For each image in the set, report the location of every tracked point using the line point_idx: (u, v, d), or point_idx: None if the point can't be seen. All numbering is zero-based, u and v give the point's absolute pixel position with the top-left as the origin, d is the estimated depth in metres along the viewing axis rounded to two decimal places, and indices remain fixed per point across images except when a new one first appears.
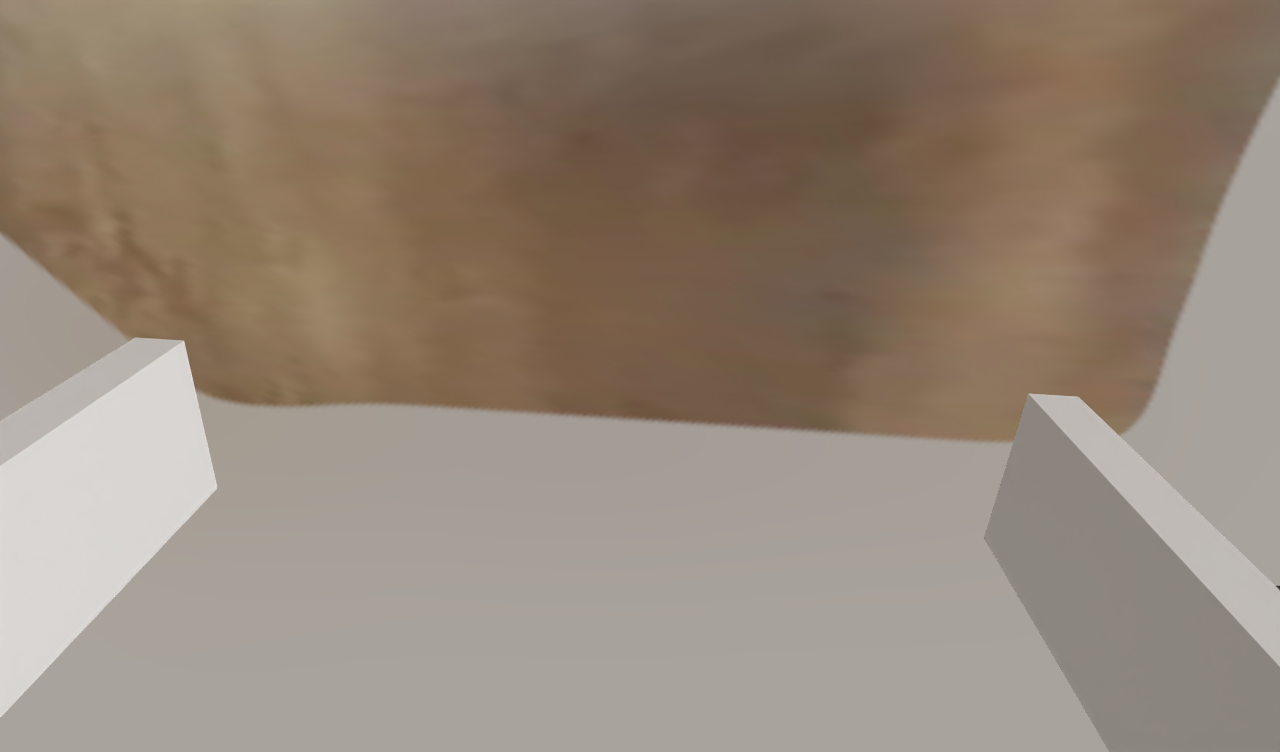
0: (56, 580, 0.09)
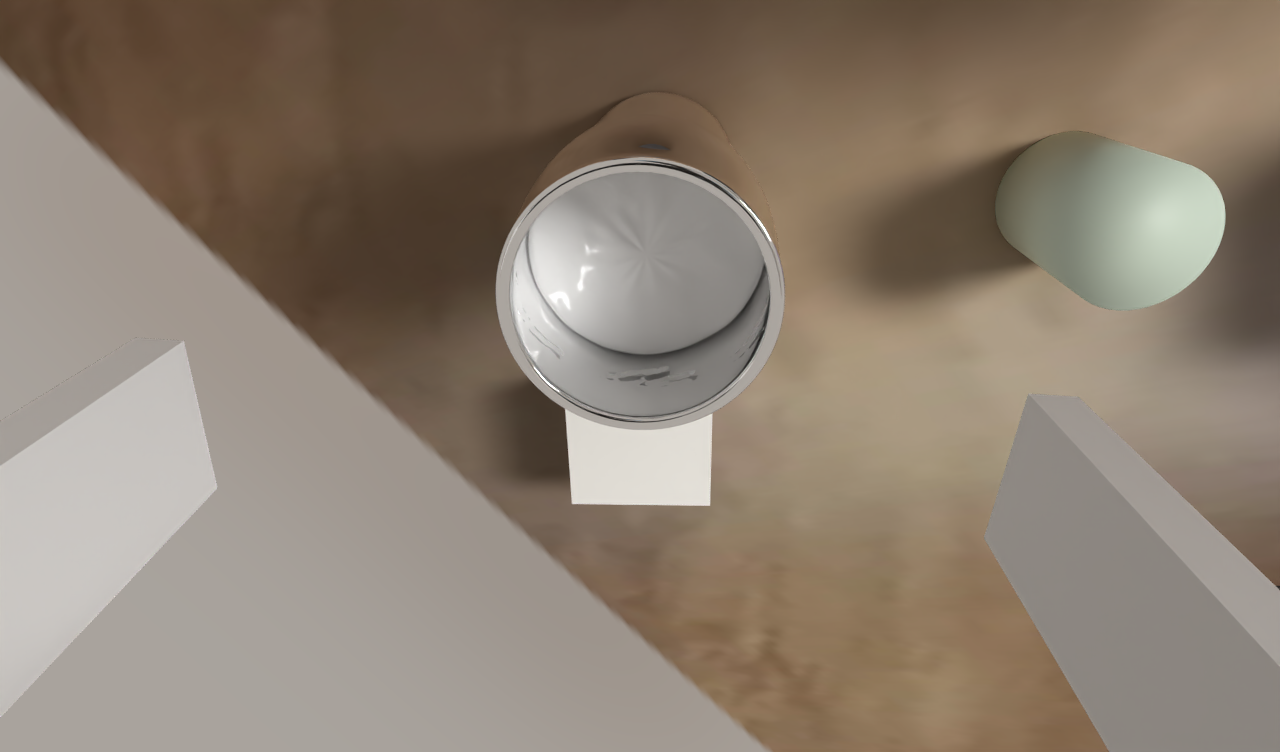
0: (55, 580, 0.09)
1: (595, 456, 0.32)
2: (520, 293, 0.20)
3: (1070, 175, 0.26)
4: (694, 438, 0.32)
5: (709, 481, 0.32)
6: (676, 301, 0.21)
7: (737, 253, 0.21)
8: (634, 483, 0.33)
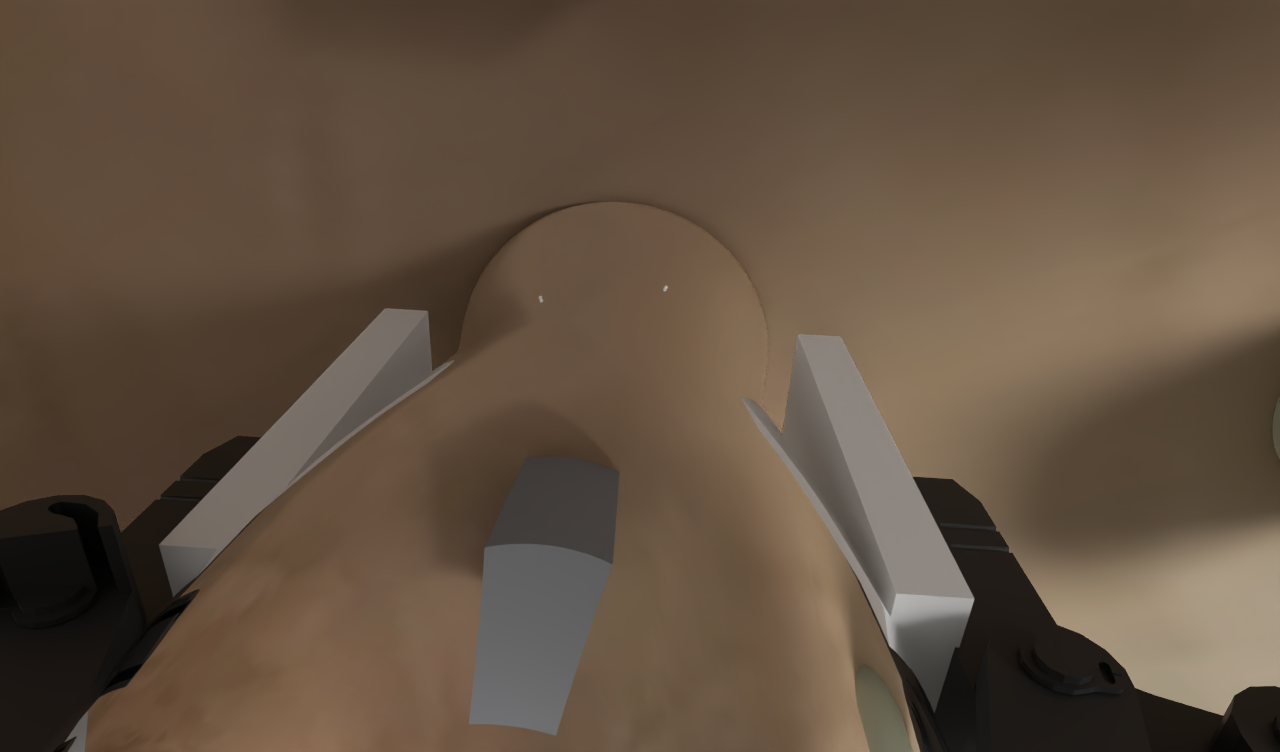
0: None
1: None
2: None
3: None
4: None
5: None
6: None
7: None
8: None
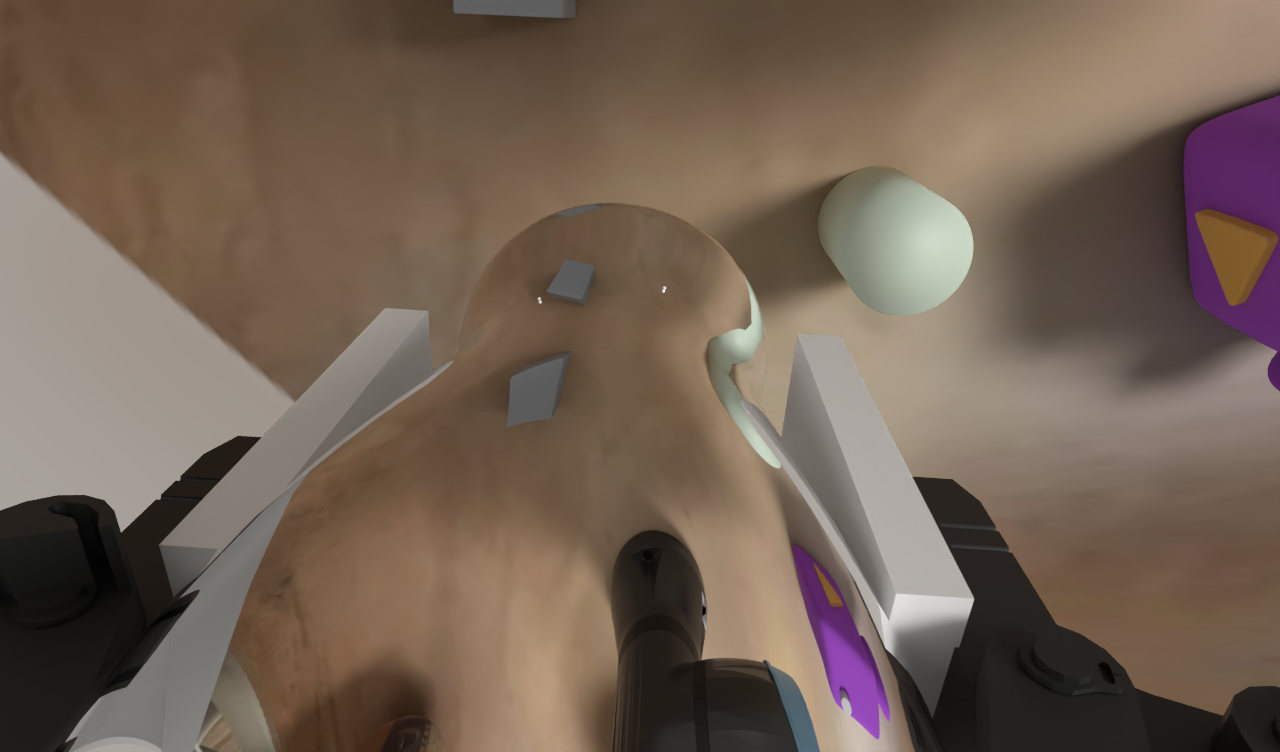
0: None
1: None
2: None
3: (855, 205, 0.31)
4: None
5: None
6: None
7: None
8: None
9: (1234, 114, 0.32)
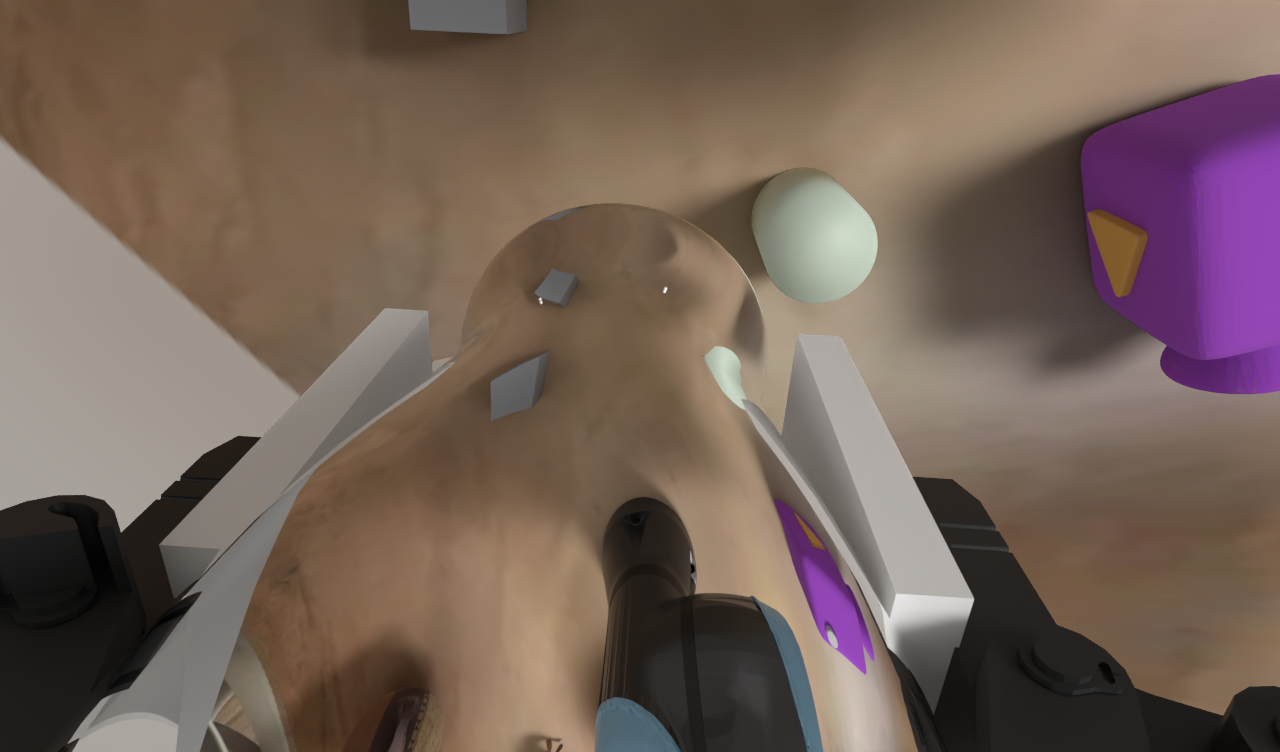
0: None
1: None
2: None
3: (775, 203, 0.35)
4: None
5: None
6: None
7: None
8: None
9: (1121, 123, 0.35)
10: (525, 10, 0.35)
